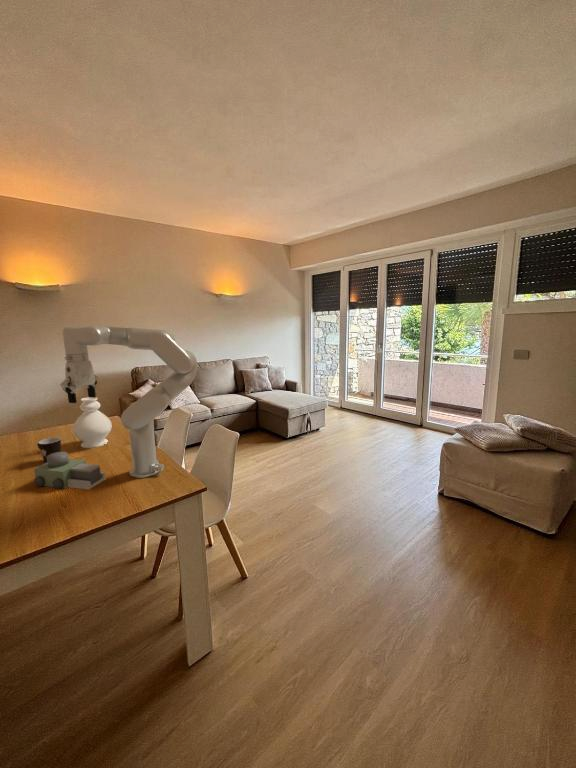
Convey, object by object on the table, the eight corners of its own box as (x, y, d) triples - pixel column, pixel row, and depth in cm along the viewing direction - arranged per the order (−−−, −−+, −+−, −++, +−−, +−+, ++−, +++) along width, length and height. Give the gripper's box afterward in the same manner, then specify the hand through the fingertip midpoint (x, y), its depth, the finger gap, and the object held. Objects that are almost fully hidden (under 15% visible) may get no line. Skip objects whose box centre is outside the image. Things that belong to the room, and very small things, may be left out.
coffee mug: (66, 460, 156) (63, 440, 154) (44, 466, 149) (40, 445, 148) (58, 453, 163) (56, 434, 161) (37, 459, 157) (34, 439, 155)
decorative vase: (96, 451, 166) (90, 403, 162) (66, 448, 170) (60, 401, 165) (120, 438, 183) (116, 395, 179) (93, 436, 187) (88, 394, 182)
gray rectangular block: (101, 478, 135) (99, 465, 134) (91, 484, 130) (89, 470, 129) (82, 476, 137) (80, 463, 136) (72, 482, 132) (70, 468, 131)
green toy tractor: (109, 476, 139) (107, 452, 137) (84, 492, 126) (80, 465, 124) (62, 471, 144) (59, 447, 142) (33, 486, 131) (29, 460, 129)
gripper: (66, 361, 121) (72, 405, 125) (102, 356, 138) (106, 395, 141) (49, 360, 123) (56, 404, 126) (86, 355, 140) (91, 394, 143)
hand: (82, 399), depth 134 cm, fingers open, 9 cm apart
